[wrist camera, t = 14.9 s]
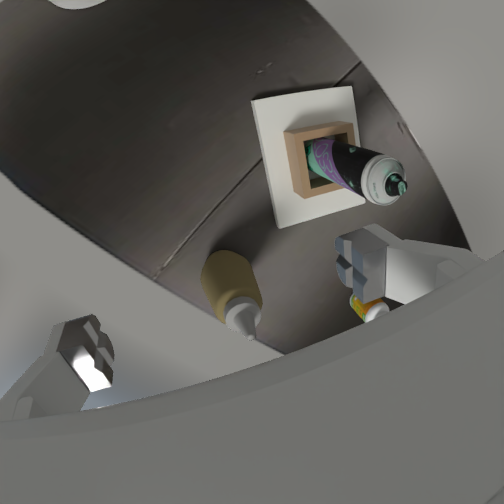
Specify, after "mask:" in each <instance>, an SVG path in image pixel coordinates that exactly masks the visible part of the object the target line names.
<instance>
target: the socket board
mask: <svg viewBox="0 0 504 504" xmlns="http://www.w3.org/2000/svg"><path fill="white" fill-rule="evenodd" d="M251 104H252V109H253V114H254V118H255V123H256V127H257V132H258V137H259V142H260V146H261V151H262V156H263V161H264V166H265V171H266V176H267V181H268V186H269V191H270V196H271V201H272V206H273V211H274V216H275V221H276V226H277V227H278V228H279V229H281V228H284V227H288V226H291V225H294V224H297V223H301V222H304V221H307V220H310V219H314V218H317V217H320V216H324V215H327V214H330V213H334V212H337V211H340V210H344V209H347V208H350V207H354V206H357V205H360V204H364V203H365V198H363V197H361V196H360V195H358V194H356V193H354V192H352V191H350V190H348V189H346V188H344V187H342V186H340V185H338V184H336V183H334V182H332V181H330V180H328V179H326V178H324V177H322V176H320V175H318V174H316V173H314V172H312V171H310V170H309V169H308V168H307V161H306V155H305V149H304V142H305V141H306V140H310V139H315V138H320V137H324V138H328V139H332V140H335V141H339V142H343V143H347V144H350V145H354V146H358V147H360V140H359V132H358V124H357V117H356V110H355V103H354V97H353V91H352V86H344V87H335V88H326V89H318V90H311V91H304V92H298V93H291V94H285V95H279V96H274V97H268V98H263V99H258V100H253V101H251Z"/></svg>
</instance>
